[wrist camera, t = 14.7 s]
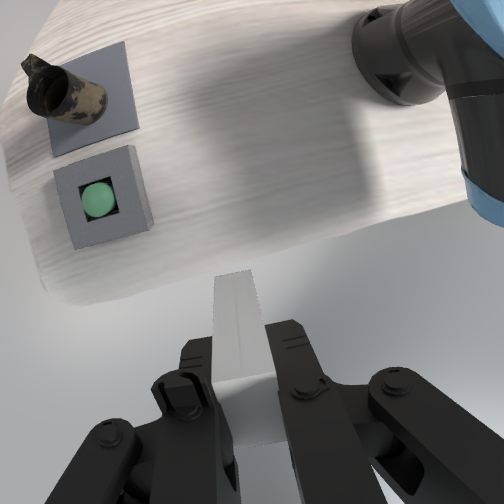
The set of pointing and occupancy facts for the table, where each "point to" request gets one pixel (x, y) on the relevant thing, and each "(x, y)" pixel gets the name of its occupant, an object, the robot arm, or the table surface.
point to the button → (99, 199)
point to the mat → (118, 106)
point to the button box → (126, 191)
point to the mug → (62, 93)
